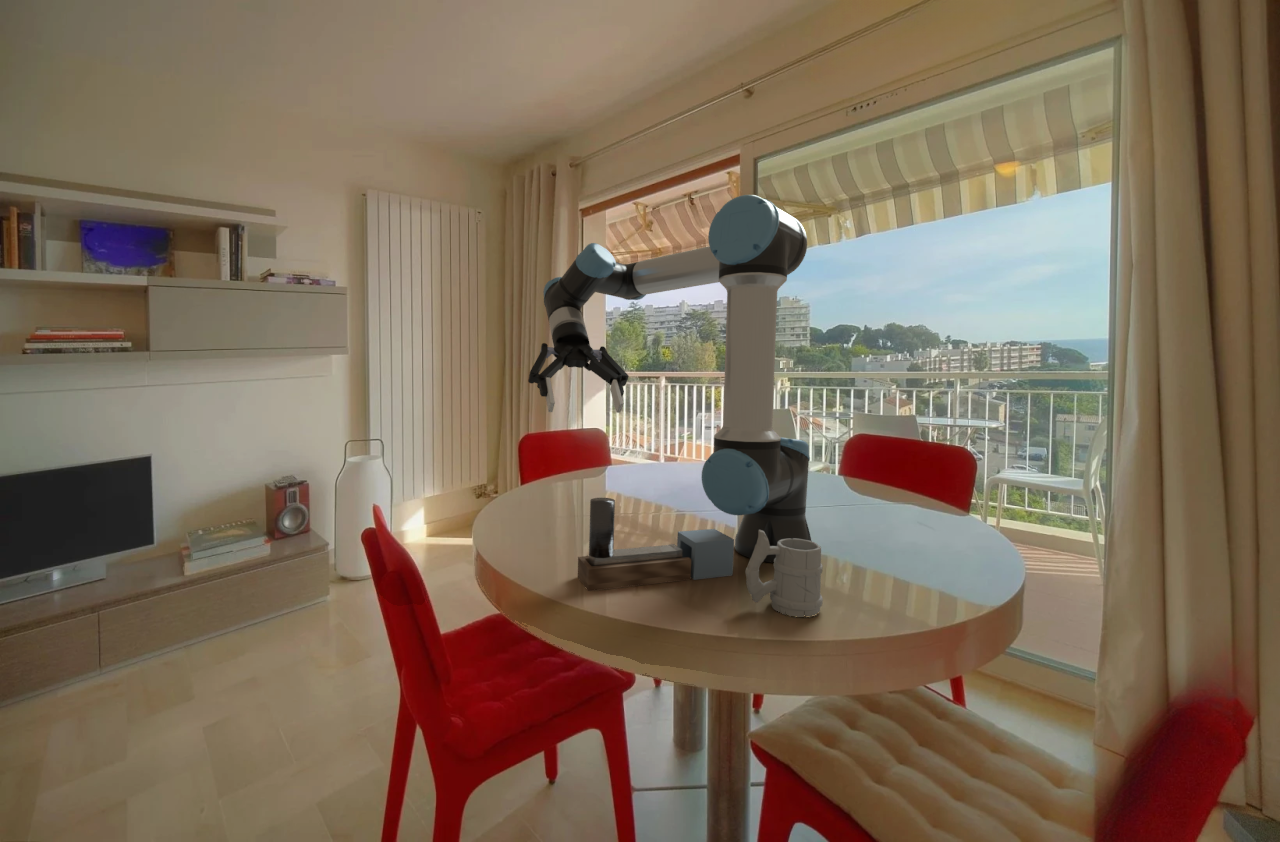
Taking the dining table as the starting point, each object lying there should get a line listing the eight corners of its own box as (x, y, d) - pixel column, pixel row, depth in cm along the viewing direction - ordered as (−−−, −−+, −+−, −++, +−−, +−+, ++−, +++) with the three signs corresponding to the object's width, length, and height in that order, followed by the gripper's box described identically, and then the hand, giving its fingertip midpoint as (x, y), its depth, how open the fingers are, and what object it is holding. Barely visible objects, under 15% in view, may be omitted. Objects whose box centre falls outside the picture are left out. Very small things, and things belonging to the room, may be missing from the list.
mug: (831, 618, 81) (836, 537, 80) (753, 620, 79) (757, 538, 78) (808, 597, 89) (812, 523, 88) (736, 599, 87) (740, 523, 86)
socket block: (712, 562, 104) (714, 528, 103) (732, 575, 97) (734, 539, 97) (676, 566, 101) (677, 531, 101) (693, 579, 95) (695, 542, 94)
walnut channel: (674, 567, 101) (675, 548, 100) (690, 579, 95) (691, 559, 94) (577, 577, 94) (578, 556, 94) (588, 591, 88) (588, 569, 88)
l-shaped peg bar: (672, 562, 99) (675, 493, 98) (682, 570, 95) (685, 498, 94) (585, 571, 93) (587, 498, 92) (592, 580, 89) (594, 503, 88)
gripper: (619, 349, 127) (641, 420, 114) (508, 343, 118) (518, 420, 105) (628, 324, 122) (652, 395, 109) (512, 315, 113) (523, 393, 100)
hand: (586, 408), depth 107 cm, fingers open, 13 cm apart
